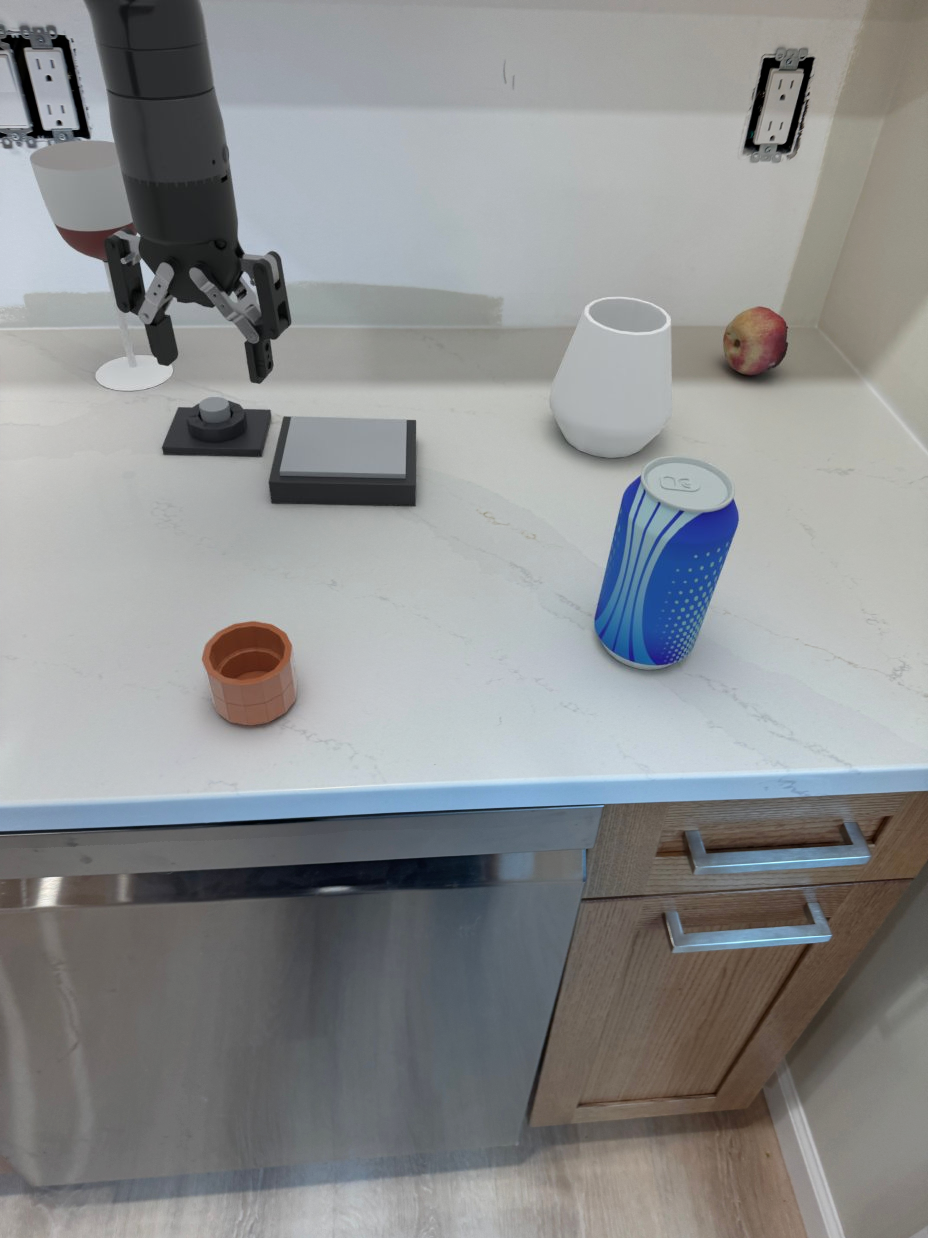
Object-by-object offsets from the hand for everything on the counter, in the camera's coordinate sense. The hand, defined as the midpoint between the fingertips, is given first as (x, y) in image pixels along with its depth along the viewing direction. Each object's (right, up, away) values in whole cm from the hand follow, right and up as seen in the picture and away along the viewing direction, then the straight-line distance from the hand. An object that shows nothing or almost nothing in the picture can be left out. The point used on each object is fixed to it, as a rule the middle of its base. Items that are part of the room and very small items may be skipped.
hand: (214, 370), depth 70 cm
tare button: (-5, 0, +16) cm, 17 cm away
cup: (+37, -1, +22) cm, 43 cm away
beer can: (+36, -23, -1) cm, 43 cm away
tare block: (-5, -1, +18) cm, 19 cm away
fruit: (+57, +10, +35) cm, 68 cm away
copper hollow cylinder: (+5, -27, -8) cm, 29 cm away
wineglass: (-17, +8, +27) cm, 33 cm away
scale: (+9, -6, +15) cm, 18 cm away
